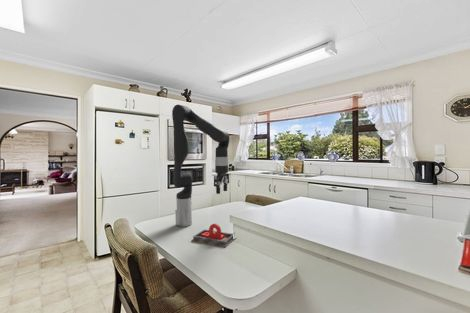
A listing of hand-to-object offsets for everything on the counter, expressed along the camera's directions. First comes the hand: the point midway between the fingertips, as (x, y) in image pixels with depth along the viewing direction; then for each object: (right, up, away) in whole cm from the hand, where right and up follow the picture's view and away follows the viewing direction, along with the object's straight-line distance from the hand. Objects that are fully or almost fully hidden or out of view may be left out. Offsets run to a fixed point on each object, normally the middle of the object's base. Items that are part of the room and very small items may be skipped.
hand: (221, 192), depth 129 cm
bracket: (-4, -22, -11) cm, 25 cm away
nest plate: (-3, -23, -12) cm, 26 cm away
